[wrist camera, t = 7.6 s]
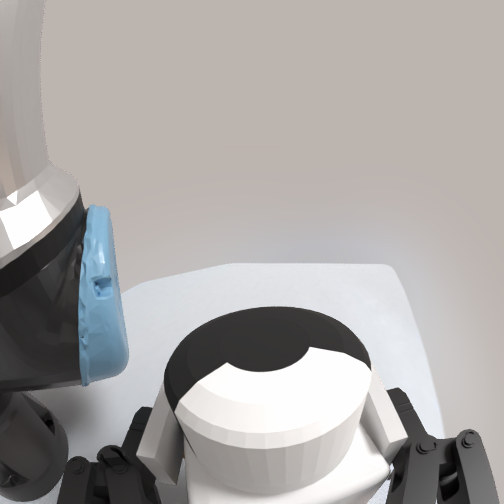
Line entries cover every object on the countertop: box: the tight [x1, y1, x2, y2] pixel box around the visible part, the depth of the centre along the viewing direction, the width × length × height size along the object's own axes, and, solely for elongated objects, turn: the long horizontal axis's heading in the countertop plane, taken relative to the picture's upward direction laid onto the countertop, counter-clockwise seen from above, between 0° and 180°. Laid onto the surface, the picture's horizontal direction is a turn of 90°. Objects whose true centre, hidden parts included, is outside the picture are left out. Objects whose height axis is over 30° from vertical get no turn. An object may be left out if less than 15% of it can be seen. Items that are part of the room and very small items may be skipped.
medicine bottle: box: [164, 307, 391, 504], centre depth 9 cm, size 7×7×12 cm
